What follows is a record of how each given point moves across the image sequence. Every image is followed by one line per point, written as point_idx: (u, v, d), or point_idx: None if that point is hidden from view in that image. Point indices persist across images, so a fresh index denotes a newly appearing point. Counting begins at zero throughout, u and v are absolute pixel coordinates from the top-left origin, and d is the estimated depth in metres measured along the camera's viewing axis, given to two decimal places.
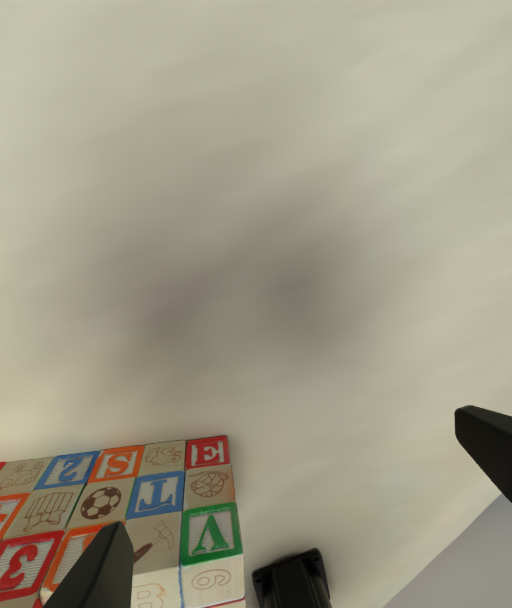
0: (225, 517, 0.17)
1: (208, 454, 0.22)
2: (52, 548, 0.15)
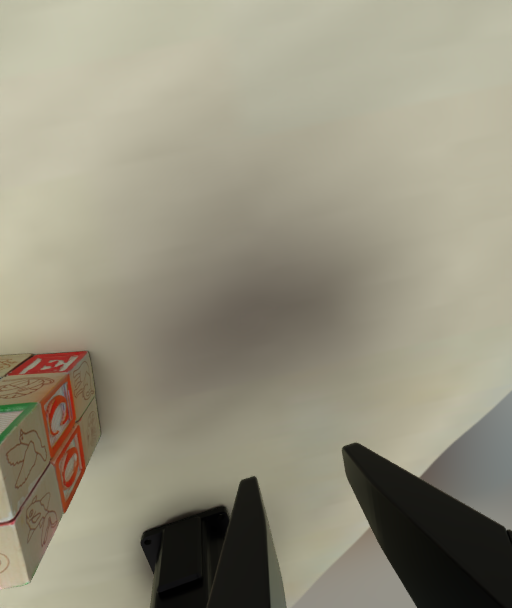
0: (10, 416, 0.12)
1: (50, 365, 0.17)
2: None
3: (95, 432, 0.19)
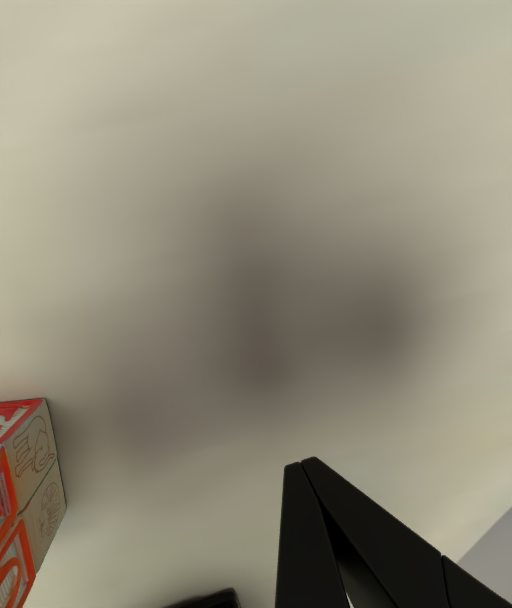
0: None
1: None
2: None
3: (56, 511, 0.14)
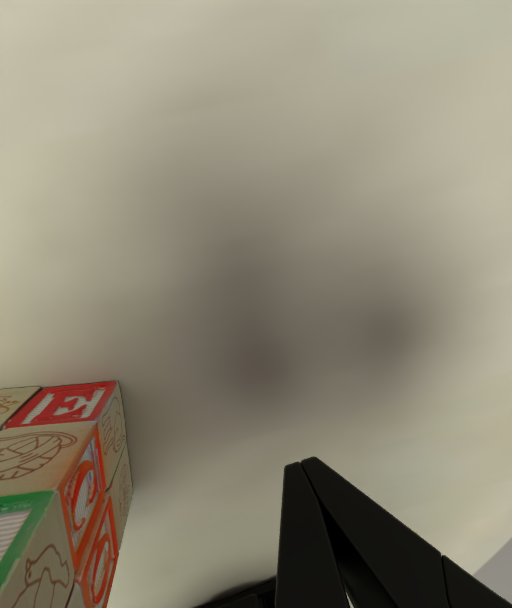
0: (8, 526, 0.07)
1: (67, 407, 0.12)
2: None
3: (127, 493, 0.14)
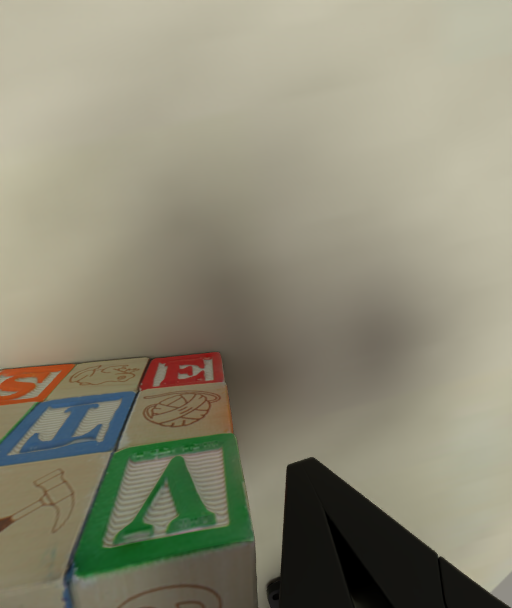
0: (210, 460, 0.07)
1: (186, 373, 0.12)
2: None
3: None
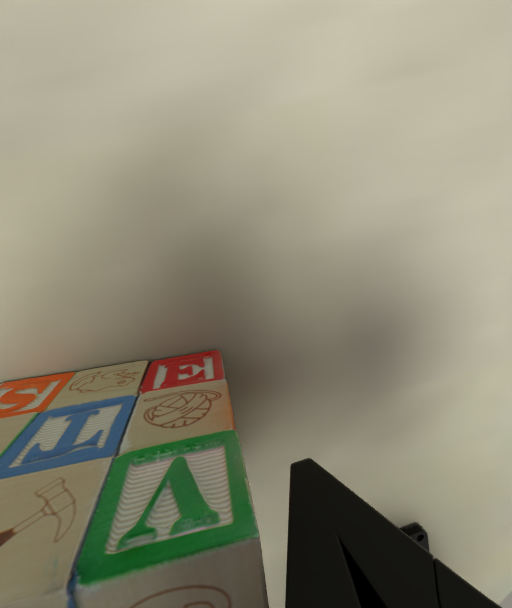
0: (213, 459, 0.07)
1: (186, 373, 0.12)
2: None
3: None
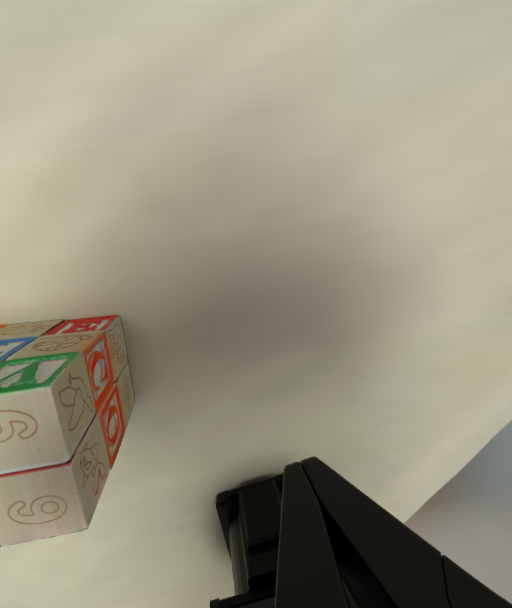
0: (56, 363, 0.12)
1: (83, 327, 0.17)
2: None
3: (130, 397, 0.19)
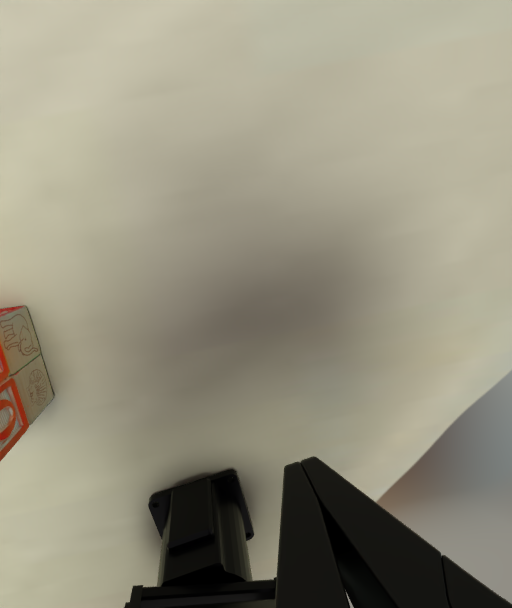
0: None
1: None
2: None
3: (44, 392, 0.18)
